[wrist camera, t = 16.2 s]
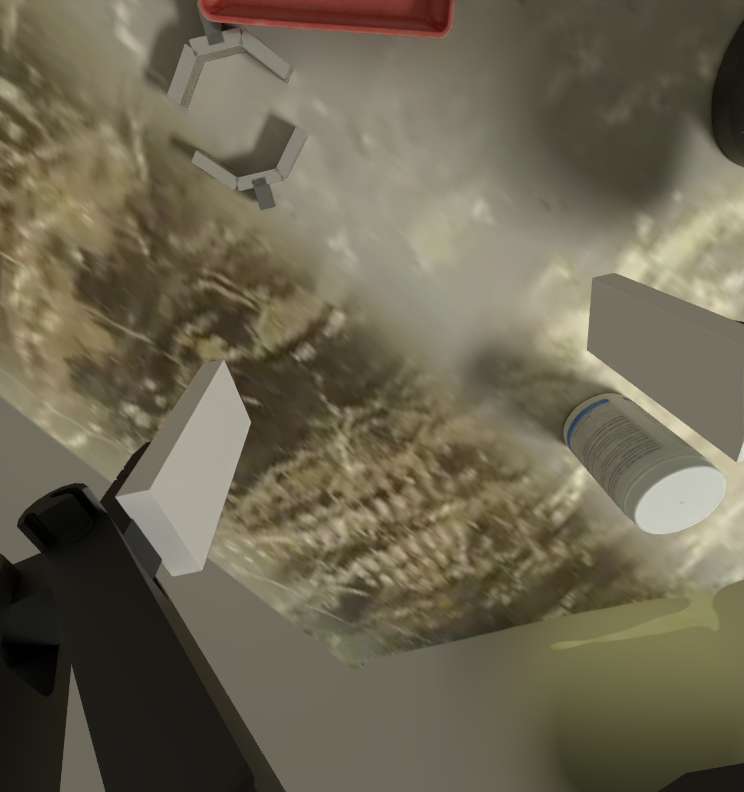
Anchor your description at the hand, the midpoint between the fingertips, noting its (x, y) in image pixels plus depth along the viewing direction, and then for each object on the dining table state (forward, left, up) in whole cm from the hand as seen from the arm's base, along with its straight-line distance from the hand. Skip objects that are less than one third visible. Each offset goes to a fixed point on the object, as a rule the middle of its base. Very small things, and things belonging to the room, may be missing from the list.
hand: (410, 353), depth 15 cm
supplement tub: (-25, +29, -29) cm, 48 cm away
